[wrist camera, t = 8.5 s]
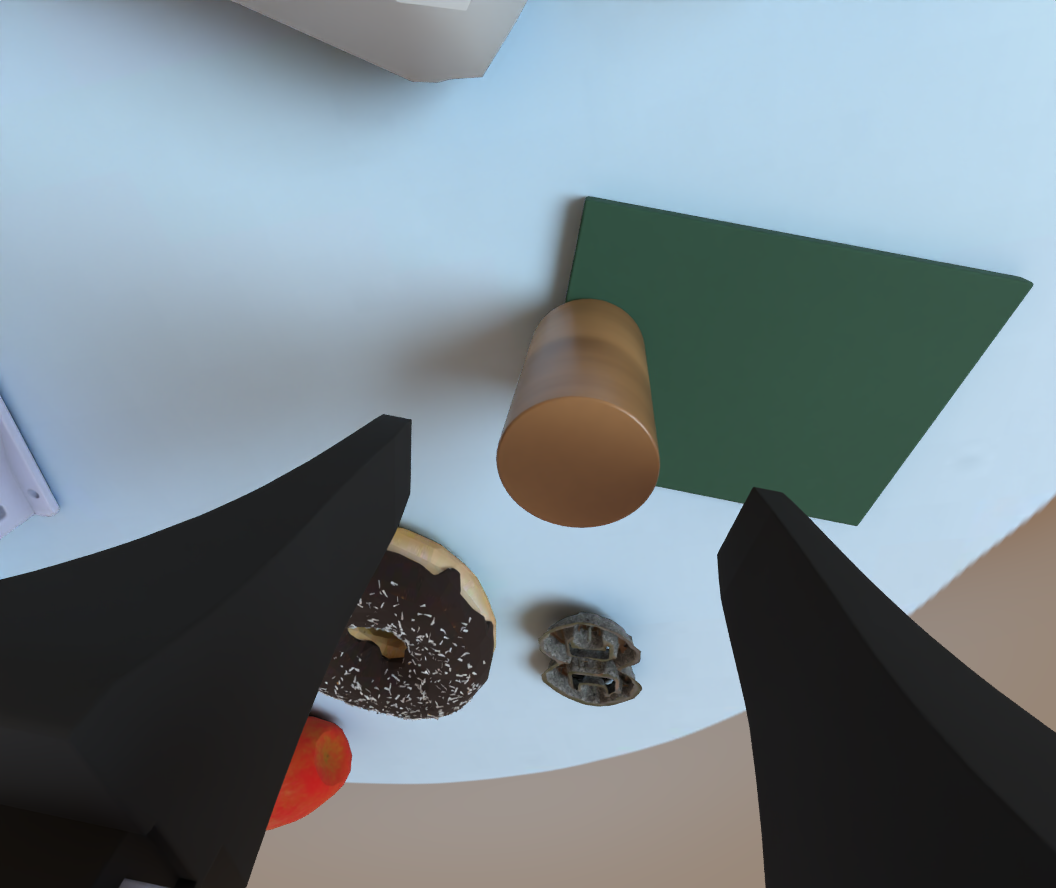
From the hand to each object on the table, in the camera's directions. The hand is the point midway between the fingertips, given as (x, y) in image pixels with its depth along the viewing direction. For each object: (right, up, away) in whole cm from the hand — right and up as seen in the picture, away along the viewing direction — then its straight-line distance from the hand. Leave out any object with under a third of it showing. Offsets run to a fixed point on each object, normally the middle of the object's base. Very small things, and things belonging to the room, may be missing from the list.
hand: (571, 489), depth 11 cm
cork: (+1, +4, +5) cm, 7 cm away
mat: (+6, +3, +6) cm, 9 cm away
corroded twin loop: (+2, -9, +15) cm, 18 cm away
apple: (-13, -18, +20) cm, 30 cm away
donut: (-8, -7, +15) cm, 18 cm away
